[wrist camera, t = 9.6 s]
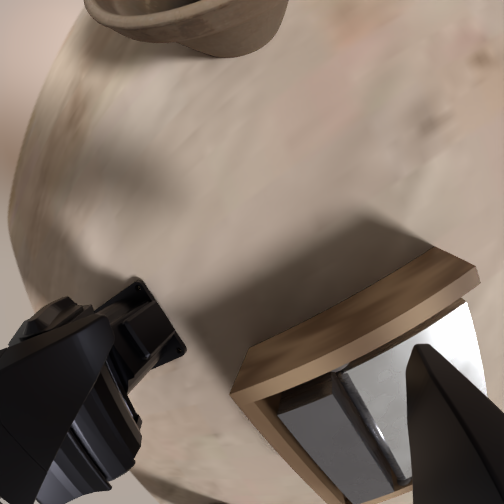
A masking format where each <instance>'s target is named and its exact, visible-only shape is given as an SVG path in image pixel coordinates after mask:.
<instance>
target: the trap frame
mask: <svg viewBox="0 0 504 504" xmlns="http://www.w3.org/2000/svg"><path fill="white" fill-rule="evenodd" d="M480 283H481V282H480V279H479V275H478V272H477V269H476V266H474V265H472V264H470V263H468V262H466V261H464V260H462V259H460V258H458V257H456V256H454V255H452V254H450V253H448V252H445V251H443V250H441V249H439V248H437V247H433V248H432V249H430V250H429V251H427V252H425V253H424V254H422V255H421V256H419V257H418V258H416V259H414V260H413V261H411V262H410V263H408V264H406V265H405V266H403V267H402V268H400V269H398V270H397V271H395V272H393V273H392V274H390V275H388V276H387V277H385V278H383V279H381V280H380V281H378V282H376V283H375V284H373V285H371V286H369V287H368V288H366V289H364V290H362V291H361V292H359V293H357V294H355V295H353V296H352V297H350V298H348V299H346V300H344V301H343V302H341V303H339V304H337V305H335V306H333V307H331V308H330V309H328V310H326V311H324V312H322V313H320V314H318V315H316V316H314V317H312V318H310V319H308V320H306V321H304V322H302V323H300V324H298V325H296V326H294V327H292V328H290V329H288V330H286V331H284V332H282V333H280V334H278V335H276V336H274V337H272V338H270V339H268V340H265V341H263V342H261V343H259V344H257V345H255V346H252V347H250V348H249V349H248V352H247V354H246V357H245V359H244V361H243V364H242V366H241V368H240V371H239V373H238V375H237V378H236V380H235V382H234V385H233V387H232V389H231V391H230V394H229V395H230V396H231V398H232V399H233V400H234V401H235V403H236V404H237V405H238V406H239V408H240V409H241V410H242V411H243V413H244V414H245V415H246V416H247V418H248V419H249V420H250V421H251V422H252V424H253V425H254V426H255V427H256V428H257V430H258V431H259V432H260V433H261V434H262V435H263V437H264V438H265V439H266V440H267V441H268V442H269V443H270V445H271V446H272V447H273V448H274V449H275V450H276V451H277V452H278V454H279V455H280V456H281V457H282V458H283V459H284V460H285V461H286V462H287V463H288V464H289V465H290V467H291V468H292V469H293V470H294V471H295V472H296V473H297V474H298V475H299V476H300V477H301V478H302V479H303V480H304V481H305V482H306V483H307V484H308V485H309V486H310V487H311V488H312V489H313V490H314V491H315V492H316V493H317V494H318V495H319V496H320V497H321V498H322V499H323V500H324V501H325V502H326V503H327V504H353V503H352V502H351V501H350V500H349V499H348V498H347V497H346V496H345V495H344V494H343V493H342V492H341V491H340V489H339V488H338V487H337V486H336V485H335V484H334V483H333V482H332V481H331V479H330V478H329V477H328V476H327V475H326V474H325V473H324V471H323V470H322V469H321V468H320V467H319V466H318V465H317V463H316V462H315V461H314V460H313V459H312V457H311V456H310V455H309V454H308V453H307V452H306V450H305V449H304V448H303V447H302V446H301V444H300V443H299V442H298V441H297V439H296V438H295V437H294V436H293V434H292V433H291V432H290V431H289V430H288V428H287V427H286V426H285V424H284V423H283V422H282V421H281V419H280V418H279V417H278V416H277V414H278V409H279V404H280V398H281V393H282V391H285V390H287V389H290V388H292V387H295V386H297V385H300V384H302V383H304V382H307V381H309V380H311V379H314V378H316V377H318V376H321V375H323V374H325V373H327V372H330V371H331V372H338V371H340V370H342V369H344V368H345V367H346V366H347V365H348V364H349V362H351V361H353V360H355V359H357V358H359V357H361V356H363V355H365V354H367V353H369V352H371V351H373V350H374V349H376V348H378V347H380V346H382V345H384V344H386V343H388V342H389V341H391V340H393V339H395V338H397V337H398V336H400V335H402V334H404V333H405V332H407V331H409V330H410V329H412V328H414V327H415V326H417V325H419V324H420V323H422V322H424V321H425V320H427V319H429V318H430V317H432V316H433V315H435V314H436V313H438V312H440V311H441V310H443V309H444V308H446V307H447V306H449V305H450V304H452V303H453V302H455V301H456V300H458V299H459V298H461V297H462V296H463V295H465V294H466V293H468V292H469V291H470V290H472V289H473V288H475V287H476V286H477V285H479V284H480ZM381 452H382V451H381ZM388 464H389V463H388ZM390 468H391V467H390ZM391 474H392V479H393V485H394V491H395V492H393V493H390V494H388V495H385V496H382V497H379V498H376V499H373V500H370V501H367V502H364V503H361V504H377V503H380V502H383V501H386V500H388V499H391V498H394V497H397V496H399V495H402V494H404V493H407V492H409V491H412V490H413V485H412V477H410V478H407V479H405V480H401V481H400V480H398V479H397V477H396V475H395V474H394V472H393V470H392V469H391Z"/></svg>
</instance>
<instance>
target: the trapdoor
mask: <svg viewBox="0 0 504 504" xmlns="http://www.w3.org/2000/svg"><path fill="white" fill-rule="evenodd" d="M426 343H427V344H430V345H431V346H432V347H434V348H435V349H436V350H437V351H438V352H439V353H440V354H441V355H442V356H444V357H445V358H446V359H447V360H448V361H449V362H450V363H451V364H452V365H454V366H455V367H456V368H457V369H458V370H459V371H460V372H461V373H462V374H463V375H464V376H465V377H467V378H468V379H469V380H470V381H471V382H472V383H473V384H474V385H475V386H476V387H477V388H478V389H479V390H480V391H481V392H482V393H484V394H485V395H486V396H487V390H486V383H485V377H484V372H483V366H482V361H481V356H480V352H479V347H478V343H477V339H476V335H475V331H474V327H473V323H472V319H471V316H470V312H469V309H468V305H467V302H466V301H465V300H463V299H462V298H459V299H458V300H456V301H455V302H453V303H452V304H450V305H449V306H447V307H446V308H444V309H443V310H441V311H440V312H438V313H436V314H435V315H433V316H432V317H430V318H429V319H427V320H425V321H424V322H422V323H420V324H419V325H417V326H415V327H414V328H412V329H410V330H409V331H407V332H405V333H404V334H402V335H400V336H398V337H397V338H395V339H393V340H391V341H389V342H388V343H386V344H384V345H382V346H380V347H378V348H376V349H374V350H373V351H371V352H369V353H367V354H365V355H363V356H361V357H359V358H357V359H355V360H353V361H351V362H349V364H348V365H347V366H346V367H345V368H344V369H342V370H340V371H338V372H336V374H335V372H331V371H330V372H327V373H325V374H323V375H321V376H318V377H316V378H314V379H311V380H309V381H307V382H304V383H302V384H300V385H297V386H295V387H292V388H290V389H287V390H285V391H282V393H281V398H280V404H279V409H278V414H277V416H278V417H279V418H280V419H281V421H282V422H283V423H284V424H285V426H286V427H287V428H288V430H289V431H290V432H291V433H292V434H293V436H294V437H295V438H296V439H297V441H298V442H299V443H300V444H301V446H302V447H303V448H304V449H305V450H306V452H307V453H308V454H309V455H310V456H311V457H312V459H313V460H314V461H315V462H316V463H317V465H318V466H319V467H320V468H321V469H322V470H323V471H324V473H325V474H326V475H327V476H328V477H329V478H330V479H331V481H332V482H333V483H334V484H335V485H336V486H337V487H338V488H339V489H340V491H341V492H342V493H343V494H344V495H345V496H346V497H347V498H348V499H349V500H350V501H351V502H352V503H353V504H361V503H364V502H367V501H370V500H373V499H376V498H379V497H382V496H385V495H388V494H390V493H393V492H395V491H394V485H393V479H392V474H391V469H392V470H393V472H394V474H395V475H396V477H397V479H398V480H400V481H401V480H405V479H407V478H410V477H412V469H411V456H410V446H409V436H408V427H407V398H406V376H405V373H406V367H407V364H408V361H409V358H410V355H411V352H412V349H413V347H414V345H415V344H426ZM349 397H350V398H349ZM352 402H353V403H352ZM355 407H356V408H355ZM358 412H359V413H358ZM368 429H369V430H368ZM371 434H372V435H371ZM378 446H379V447H378ZM381 451H382V452H381ZM388 463H389V464H388ZM390 467H391V468H390Z"/></svg>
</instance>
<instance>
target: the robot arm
mask: <svg viewBox="0 0 504 504" xmlns="http://www.w3.org/2000/svg"><path fill="white" fill-rule="evenodd" d="M138 285H139V286H140V288H141V290H139V289H138ZM8 345H9V347H8V348H5V349H2V350H0V498H3V499H4V500H6V501H7V502H8V503H9V504H34V501H35V499H36V500H37V501H38V502H39V503H40V504H65V503H67V502H69V501H71V500H73V499H75V498H78V497H80V496H82V495H85V494H89V493H93V492H99V491H109V490H111V489H112V486H111V485H110V484H109V481H112V480H114V479H116V478H118V477H119V476H121V475H123V474H125V473H126V472H127V471H129V470H130V469H131V468H132V467H133V466H134V464H135V460H134V458H135V456H136V454H137V452H138V450H139V449H140V447H141V440H142V435H141V433H140V428H141V424H142V420H141V418H140V416H139V415H138V414H137V413H136V411H135V410H134V408H133V406H132V404H131V402H130V400H129V398H128V396H127V395H128V394H129V393H130V391H131V390H132V389H133V388H134V387H135V386H136V385H137V384H138V383H139V382H140V381H141V380H142V378H143V377H144V376H145V375H146V374H147V373H148V372H149V371H150V370H151V369H154V368H156V367H158V366H161V365H163V364H165V363H168V362H170V361H172V360H174V359H177V358H179V357H181V356H183V355H184V354H185V353H186V351H187V348H186V346H185V344H184V343H183V342H182V340H181V339H180V337H179V336H178V334H177V333H176V331H175V329H174V328H173V326H172V325H171V323H170V322H169V320H168V318H167V317H166V315H165V314H164V312H163V311H162V309H161V308H160V306H159V305H158V303H157V302H156V301H155V299H154V298H153V296H152V294H151V293H150V291H149V290H148V288H147V286H146V285H145V283H144V282H143V281H141V280H138V281H136V282H134V283H133V284H131V285H130V286H128V287H127V288H126V289H124V290H123V291H121V292H120V293H119V294H117V295H116V296H114V297H113V298H111V299H110V300H109V301H107V302H106V303H105V304H103V305H102V306H100V307H99V308H98V309H96V310H95V311H94V310H93V307H92V305H84V306H82V305H77V303H75V302H74V301H72V300H71V299H70V298H69V297H62V298H60V299H58V300H56V301H54V302H52V303H50V304H48V305H46V306H44V307H42V308H41V309H40V310H39V311H38V312H36V313H35V314H34V315H33V316H32V317H31V318H30V319H28V320H26V321H24V322H23V324H22V325H21V327H20V328H19V329H18V331H17V332H16V334H15V335H14V336H13V338H12V339H11V341H10V342H9V344H8ZM178 348H180V349H181V350H182V351H180V350H179V349H178ZM405 376H406V398H407V427H408V436H409V446H410V456H411V469H412V485H413V504H504V413H503V412H502V411H501V410H500V409H499V408H498V407H497V406H496V405H495V404H494V403H493V402H492V401H491V400H490V399H489V398H488V397H487V396H486V395H485V394H484V393H482V392H481V391H480V390H479V389H478V388H477V387H476V386H475V385H474V384H473V383H472V382H471V381H470V380H469V379H468V378H467V377H465V376H464V375H463V374H462V373H461V372H460V371H459V370H458V369H457V368H456V367H455V366H454V365H452V364H451V363H450V362H449V361H448V360H447V359H446V358H445V357H444V356H442V355H441V354H440V353H439V352H438V351H437V350H436V349H435V348H434V347H432V346H431V345H430V344H427V343H426V344H415V345H414V347H413V349H412V352H411V355H410V358H409V361H408V364H407V367H406V373H405ZM0 504H2V503H1V502H0Z"/></svg>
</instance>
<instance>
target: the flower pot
mask: <svg viewBox="0 0 504 504" xmlns="http://www.w3.org/2000/svg"><path fill="white" fill-rule="evenodd" d="M84 4H85V7H86V9H87V11H88V13H89V14H90V15H91V16H92V17H93V19H95V20H96V21H97V22H98V23H100V24H102V25H104V26H106V27H109V28H111V29H113V30H114V31H116V32H118V33H120V34H122V35H124V36H126V37H128V38H131V39H134V40H138V41H143V42H151V43H169V42H177V43H180V44H182V45H184V46H187V47H189V48H192V49H194V50H197V51H200V52H203V53H206V54H209V55H212V56H216V57H224V58H230V57H238V56H243V55H246V54H249V53H252V52H254V51H256V50H258V49H260V48H261V47H263V46H264V45H266V44H267V43H268V42H269V41H270V40H271V39H272V38H273V37H274V35H275V34H276V33H277V31H278V29H279V27H280V25H281V22H282V19H283V17H284V14H285V11H286V8H287V4H288V0H84Z"/></svg>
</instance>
